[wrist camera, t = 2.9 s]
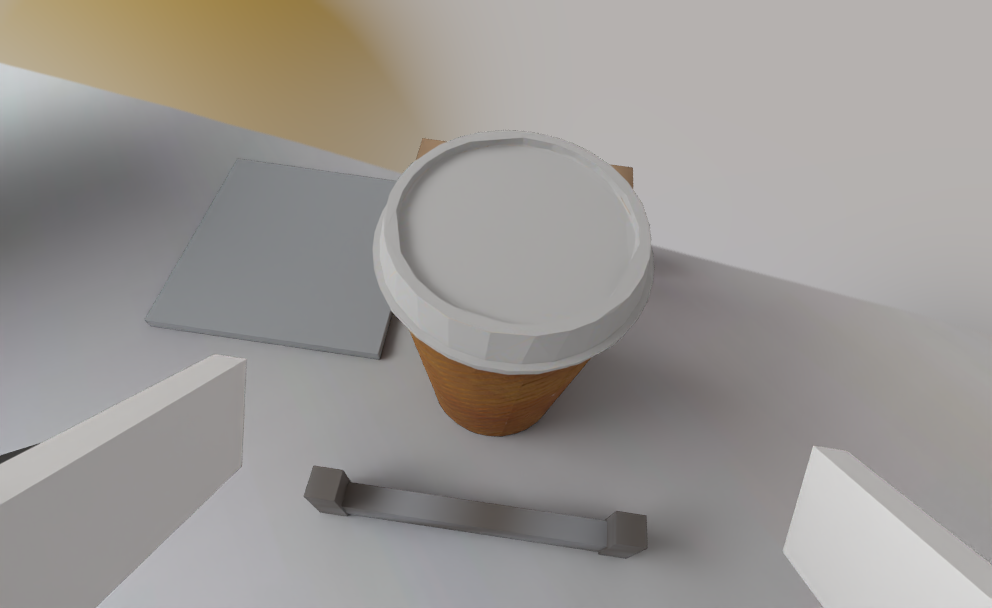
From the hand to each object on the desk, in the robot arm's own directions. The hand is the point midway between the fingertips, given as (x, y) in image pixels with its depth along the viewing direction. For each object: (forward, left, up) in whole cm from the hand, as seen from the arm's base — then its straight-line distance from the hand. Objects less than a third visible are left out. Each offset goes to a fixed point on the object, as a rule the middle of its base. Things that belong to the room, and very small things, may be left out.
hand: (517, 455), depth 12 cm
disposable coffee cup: (-1, +8, -13) cm, 15 cm away
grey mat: (-13, +14, -13) cm, 23 cm away
